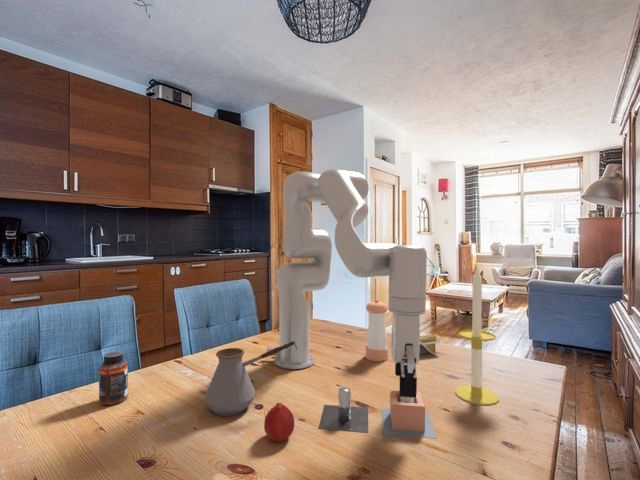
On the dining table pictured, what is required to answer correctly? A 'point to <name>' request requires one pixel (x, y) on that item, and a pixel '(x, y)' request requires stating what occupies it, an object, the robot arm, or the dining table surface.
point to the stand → (344, 415)
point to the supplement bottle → (113, 379)
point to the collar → (407, 413)
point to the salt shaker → (376, 332)
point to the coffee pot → (233, 381)
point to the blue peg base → (388, 430)
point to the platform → (428, 344)
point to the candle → (476, 351)
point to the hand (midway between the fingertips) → (405, 385)
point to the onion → (279, 423)
